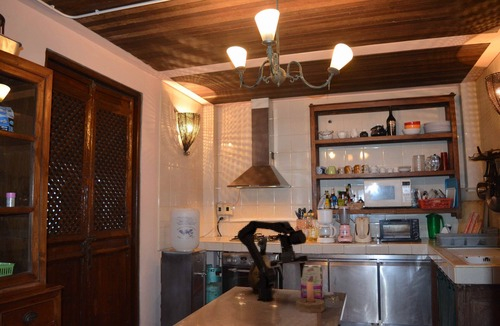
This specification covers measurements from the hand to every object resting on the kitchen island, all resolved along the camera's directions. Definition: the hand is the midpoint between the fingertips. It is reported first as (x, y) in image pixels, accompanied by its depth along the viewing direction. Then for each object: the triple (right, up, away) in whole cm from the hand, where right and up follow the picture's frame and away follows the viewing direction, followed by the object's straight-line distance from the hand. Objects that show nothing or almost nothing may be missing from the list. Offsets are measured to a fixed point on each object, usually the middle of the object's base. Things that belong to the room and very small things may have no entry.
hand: (292, 278), depth 192 cm
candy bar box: (+12, -14, +13) cm, 22 cm away
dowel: (+7, -11, -10) cm, 16 cm away
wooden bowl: (+7, -11, -10) cm, 16 cm away
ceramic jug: (-14, -15, +27) cm, 34 cm away
